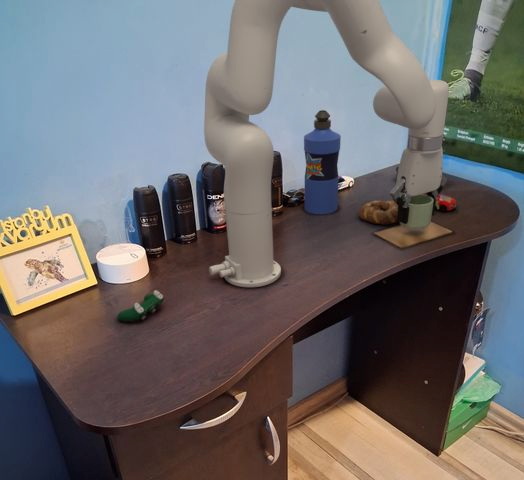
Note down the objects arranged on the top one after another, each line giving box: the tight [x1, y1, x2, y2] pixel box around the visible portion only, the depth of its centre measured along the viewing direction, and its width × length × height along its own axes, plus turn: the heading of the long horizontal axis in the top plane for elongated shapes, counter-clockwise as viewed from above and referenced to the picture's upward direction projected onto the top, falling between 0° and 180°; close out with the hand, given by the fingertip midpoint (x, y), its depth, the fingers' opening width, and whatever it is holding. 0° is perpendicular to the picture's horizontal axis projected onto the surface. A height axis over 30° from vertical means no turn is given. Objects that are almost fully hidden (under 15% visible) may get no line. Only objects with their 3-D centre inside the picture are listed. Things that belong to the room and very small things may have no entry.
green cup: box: [399, 194, 434, 229], centre depth 130 cm, size 7×7×6 cm
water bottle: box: [303, 109, 342, 215], centre depth 142 cm, size 9×9×25 cm
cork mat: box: [373, 221, 453, 249], centre depth 133 cm, size 16×10×1 cm, turn 119°
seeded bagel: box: [358, 199, 400, 226], centre depth 141 cm, size 12×11×4 cm
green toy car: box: [117, 289, 165, 322], centre depth 107 cm, size 9×4×6 cm
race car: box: [423, 191, 458, 213], centre depth 146 cm, size 13×5×4 cm, turn 50°
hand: (415, 217), depth 131 cm, fingers closed on green cup, 7 cm apart
